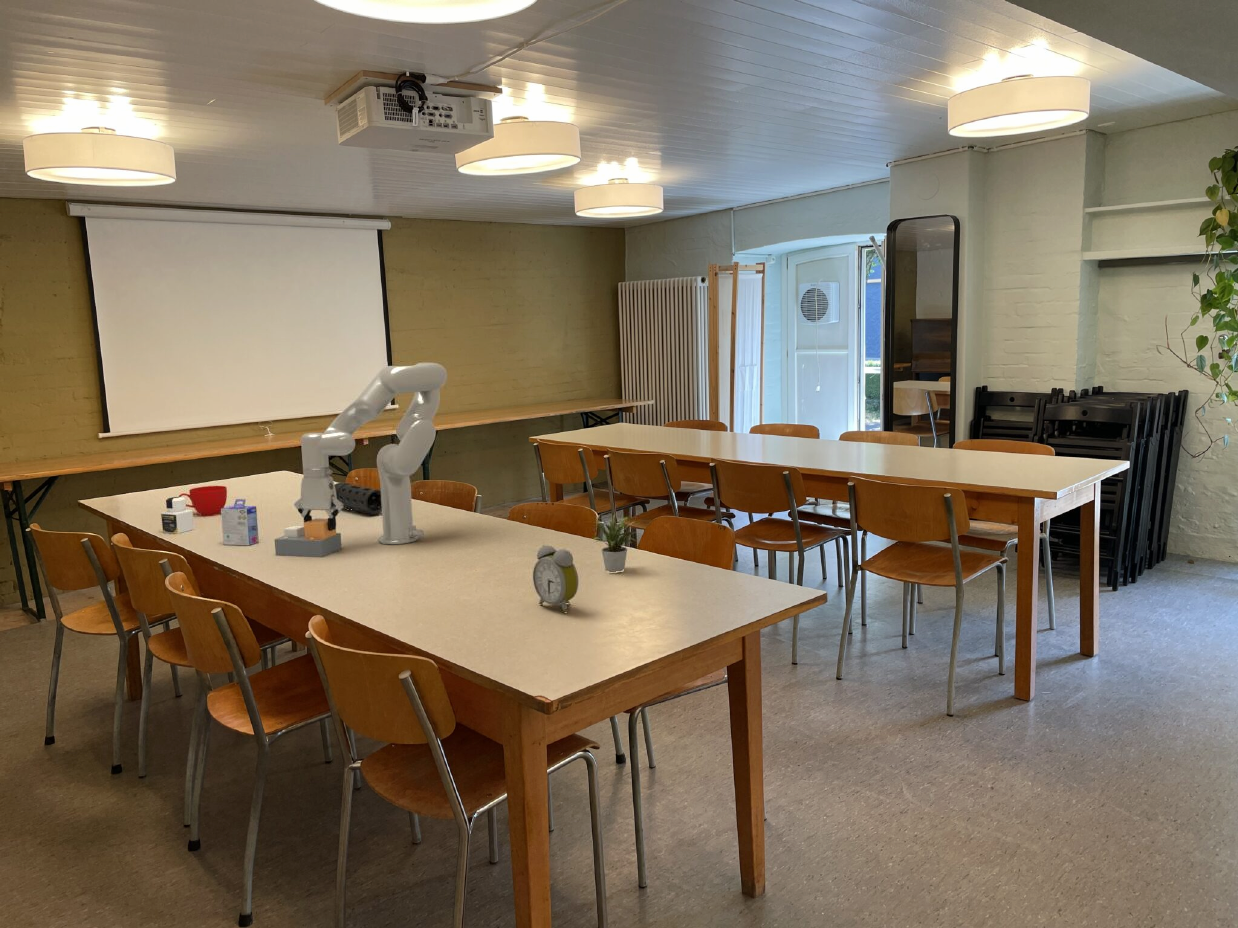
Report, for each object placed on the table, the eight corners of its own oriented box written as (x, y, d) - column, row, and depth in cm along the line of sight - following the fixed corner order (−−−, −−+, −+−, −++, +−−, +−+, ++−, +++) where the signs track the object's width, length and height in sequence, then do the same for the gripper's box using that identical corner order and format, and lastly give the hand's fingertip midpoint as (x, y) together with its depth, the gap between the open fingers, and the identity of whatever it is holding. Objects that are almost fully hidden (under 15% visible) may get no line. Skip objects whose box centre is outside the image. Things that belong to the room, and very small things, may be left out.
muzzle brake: (366, 518, 319) (364, 491, 318) (327, 509, 338) (326, 483, 337) (388, 514, 326) (386, 487, 324) (350, 505, 345) (348, 480, 343)
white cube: (305, 538, 272) (304, 526, 271) (297, 542, 268) (296, 529, 267) (293, 538, 273) (292, 525, 272) (285, 541, 269) (284, 529, 268)
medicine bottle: (162, 532, 301) (159, 498, 299) (179, 528, 308) (176, 495, 306) (177, 534, 298) (174, 500, 297) (194, 529, 305) (191, 496, 303)
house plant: (592, 580, 231) (590, 521, 229) (580, 567, 245) (579, 511, 242) (642, 575, 235) (642, 517, 233) (628, 563, 248) (627, 507, 246)
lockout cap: (336, 534, 270) (335, 518, 270) (324, 539, 264) (323, 523, 263) (317, 533, 272) (316, 518, 271) (305, 538, 265) (304, 522, 265)
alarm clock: (532, 605, 211) (530, 545, 209) (553, 599, 216) (552, 540, 213) (563, 615, 203) (562, 553, 200) (585, 609, 207) (583, 548, 205)
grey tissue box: (341, 548, 273) (340, 531, 272) (322, 557, 263) (320, 539, 262) (296, 546, 277) (295, 529, 276) (275, 555, 266) (274, 537, 265)
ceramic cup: (180, 513, 334) (178, 488, 332) (228, 509, 341) (226, 484, 339) (179, 520, 322) (176, 493, 321) (229, 515, 329) (226, 489, 328)
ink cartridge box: (260, 542, 284) (256, 498, 282) (249, 546, 279) (246, 502, 277) (233, 541, 286) (229, 498, 284) (222, 545, 281) (218, 501, 279)
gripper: (348, 471, 267) (352, 527, 269) (298, 470, 271) (302, 526, 273) (335, 475, 259) (339, 533, 262) (284, 474, 263) (288, 531, 266)
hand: (320, 529), depth 268 cm, fingers open, 7 cm apart
